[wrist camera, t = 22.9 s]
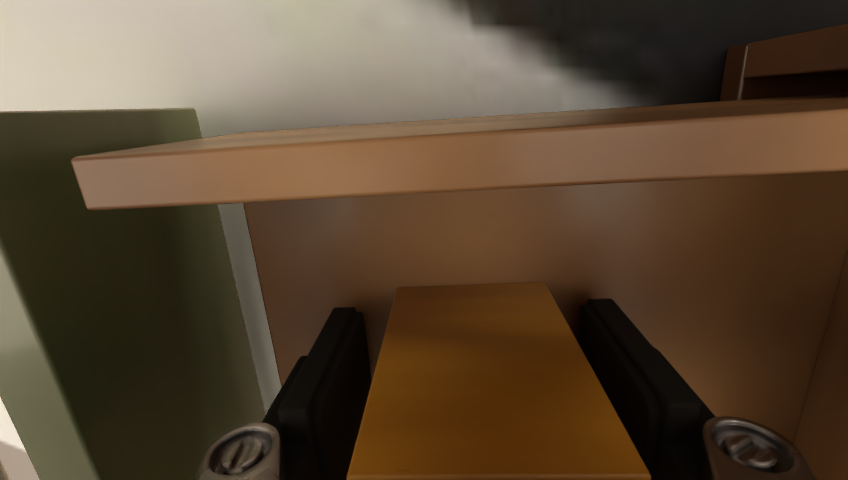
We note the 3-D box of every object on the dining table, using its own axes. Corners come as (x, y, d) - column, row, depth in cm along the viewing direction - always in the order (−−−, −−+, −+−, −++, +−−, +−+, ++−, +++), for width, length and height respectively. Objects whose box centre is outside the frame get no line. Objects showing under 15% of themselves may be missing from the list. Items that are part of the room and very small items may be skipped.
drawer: (118, 484, 16) (-60, 691, 10) (-26, 123, 11) (-465, 141, 6) (772, 483, 14) (983, 729, 8) (887, 59, 10) (1455, 3, 4)
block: (407, 406, 12) (375, 663, 7) (396, 286, 11) (344, 478, 5) (541, 404, 12) (625, 669, 6) (545, 281, 11) (654, 477, 5)
